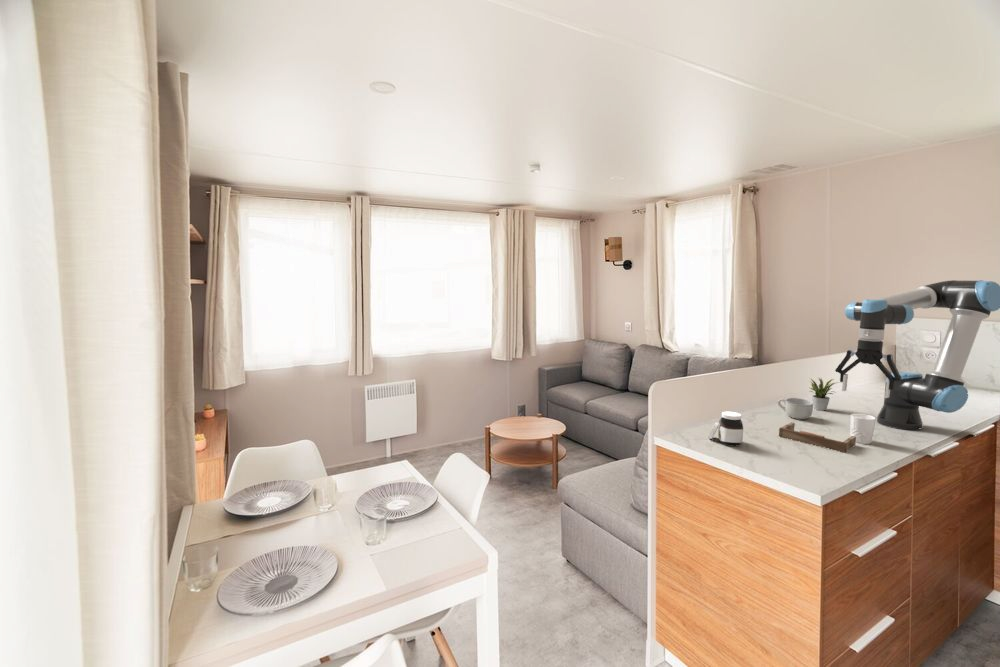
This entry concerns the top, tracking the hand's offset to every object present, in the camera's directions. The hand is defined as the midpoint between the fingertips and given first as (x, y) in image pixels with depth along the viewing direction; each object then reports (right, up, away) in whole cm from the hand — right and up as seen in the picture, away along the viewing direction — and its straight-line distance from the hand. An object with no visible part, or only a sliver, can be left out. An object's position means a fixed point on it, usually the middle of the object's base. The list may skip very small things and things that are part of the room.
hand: (864, 394), depth 182 cm
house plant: (+15, -14, +46) cm, 50 cm away
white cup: (0, -19, +2) cm, 19 cm away
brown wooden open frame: (-17, -19, +3) cm, 25 cm away
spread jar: (-54, -19, +2) cm, 57 cm away
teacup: (-6, -15, +34) cm, 38 cm away
